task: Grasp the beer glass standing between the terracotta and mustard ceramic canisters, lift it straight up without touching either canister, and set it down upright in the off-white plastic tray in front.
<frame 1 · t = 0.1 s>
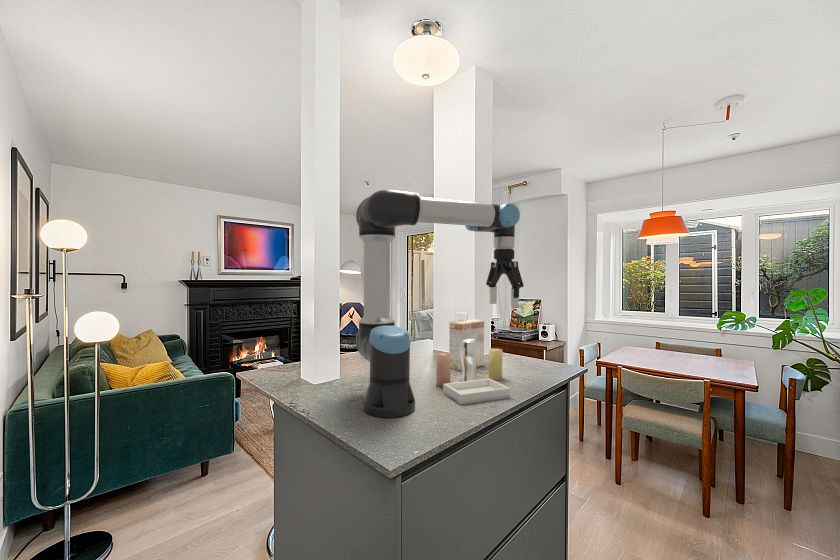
hand: (503, 305, 140), 28 cm above the countertop, tool pointing down, fingers open, 13 cm apart
beer glass: (468, 381, 138), on the countertop
tray: (476, 395, 122), on the countertop
mustard canister: (495, 378, 141), on the countertop
coffeecake box: (466, 366, 159), on the countertop
terracotta canister: (443, 384, 133), on the countertop
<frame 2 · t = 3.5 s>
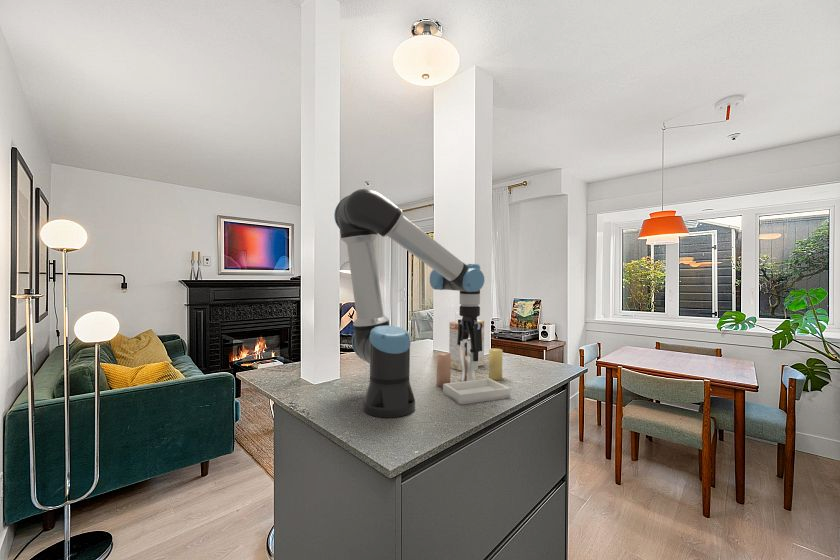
hand: (469, 367, 138), 5 cm above the countertop, tool pointing down, fingers closed on beer glass, 7 cm apart
beer glass: (468, 381, 138), on the countertop, touching gripper
everything else where it was.
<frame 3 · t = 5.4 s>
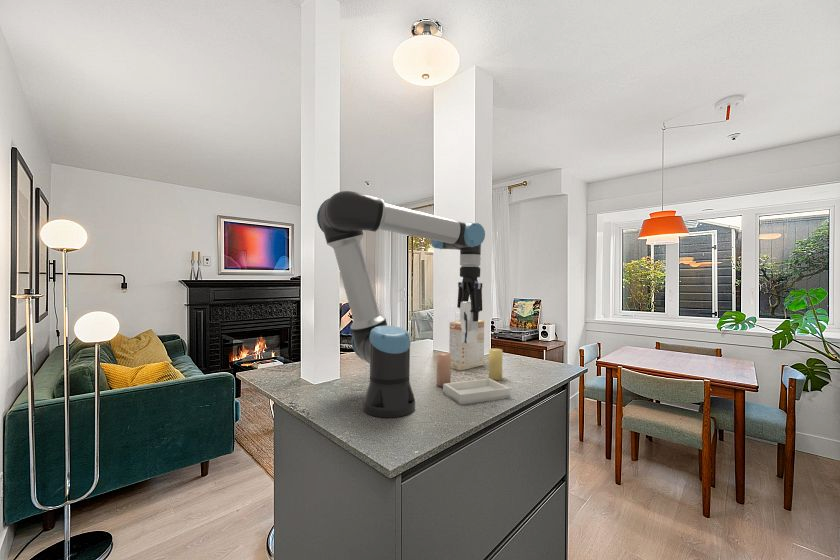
hand: (468, 328, 137), 19 cm above the countertop, tool pointing down, fingers closed on beer glass, 7 cm apart
beer glass: (468, 342, 137), point 14 cm above the countertop, touching gripper
everything else where it was.
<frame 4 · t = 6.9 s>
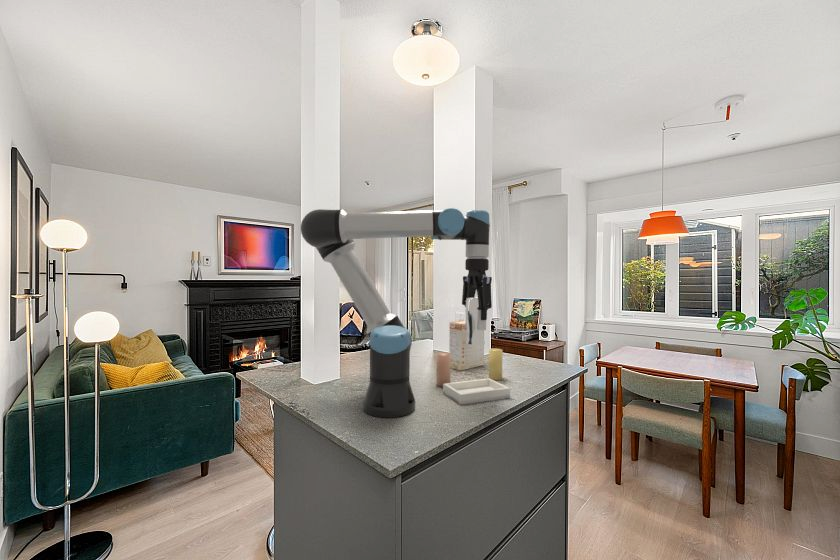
hand: (475, 328, 122), 22 cm above the countertop, tool pointing down, fingers closed on beer glass, 7 cm apart
beer glass: (475, 344, 122), point 17 cm above the countertop, touching gripper
everything else where it was.
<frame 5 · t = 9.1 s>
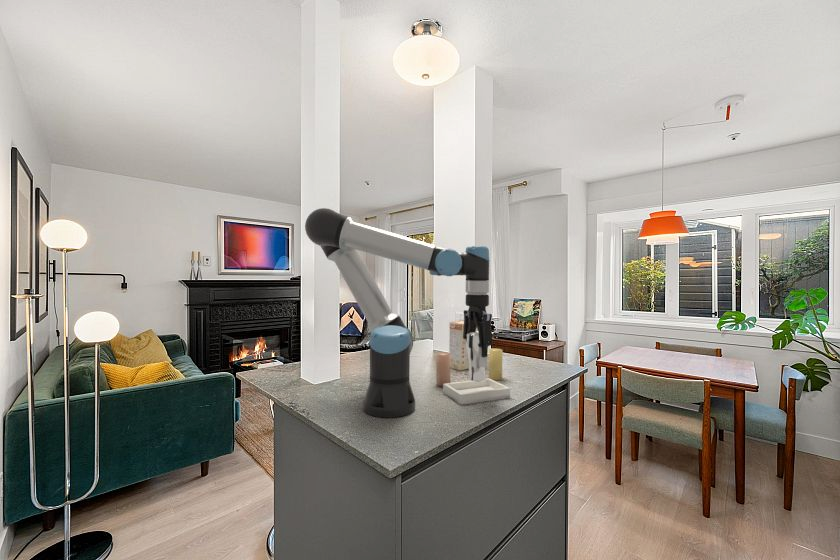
hand: (476, 364, 121), 10 cm above the countertop, tool pointing down, fingers closed on beer glass, 7 cm apart
beer glass: (476, 379, 121), point 5 cm above the countertop, touching gripper
everything else where it was.
when the fingers open (7 cm above the countertop, at t = 10.6 s): beer glass drops 1 cm, resting on tray.
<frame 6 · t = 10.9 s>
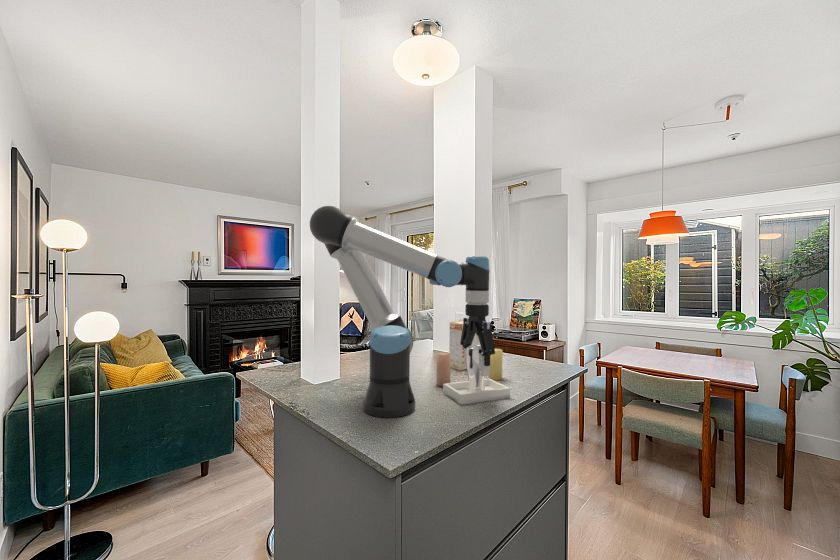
hand: (476, 371, 121), 8 cm above the countertop, tool pointing down, fingers open, 10 cm apart
beer glass: (476, 393, 121), point 1 cm above the countertop, touching tray
everything else where it was.
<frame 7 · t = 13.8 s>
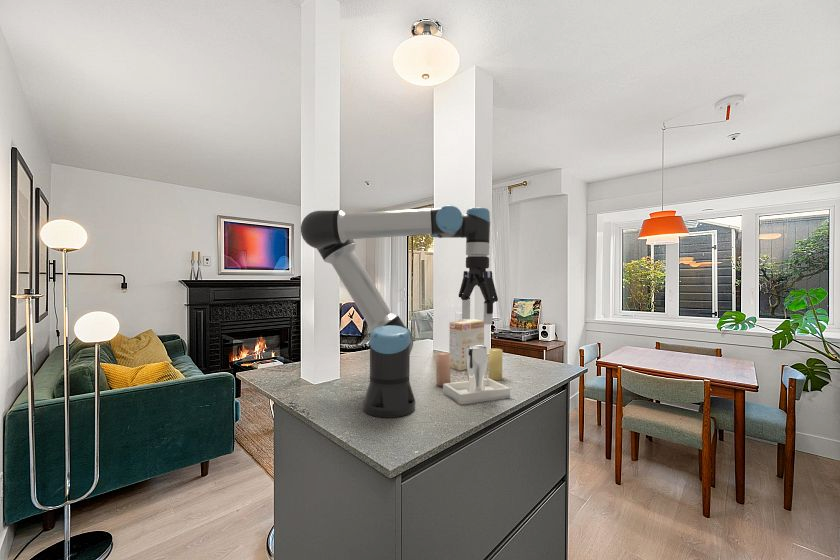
hand: (476, 321, 121), 24 cm above the countertop, tool pointing down, fingers open, 13 cm apart
nothing on the countertop moved.
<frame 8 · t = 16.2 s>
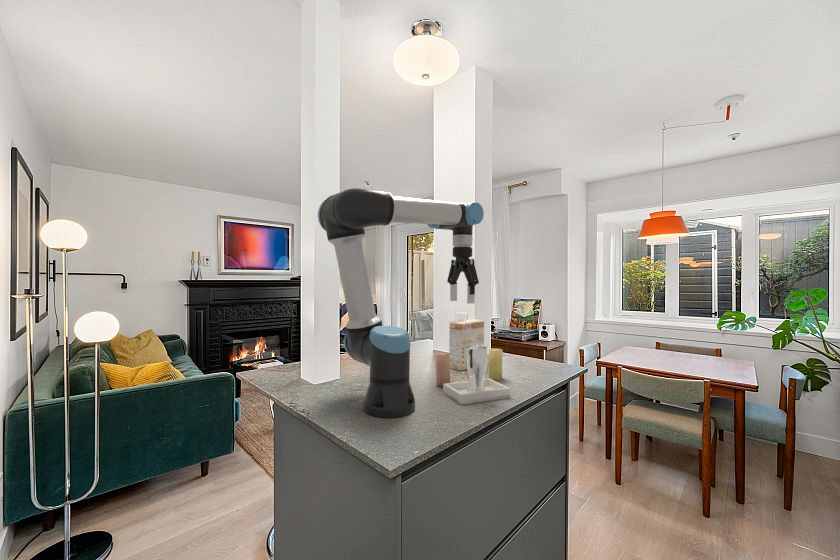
hand: (461, 302, 143), 29 cm above the countertop, tool pointing down, fingers open, 13 cm apart
nothing on the countertop moved.
at the end: beer glass inside the target area on the tray (0.2 cm from its centre), point 0.6 cm above the tray's base; terracotta canister moved 0.1 cm from its start; mustard canister moved 0.0 cm from its start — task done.
